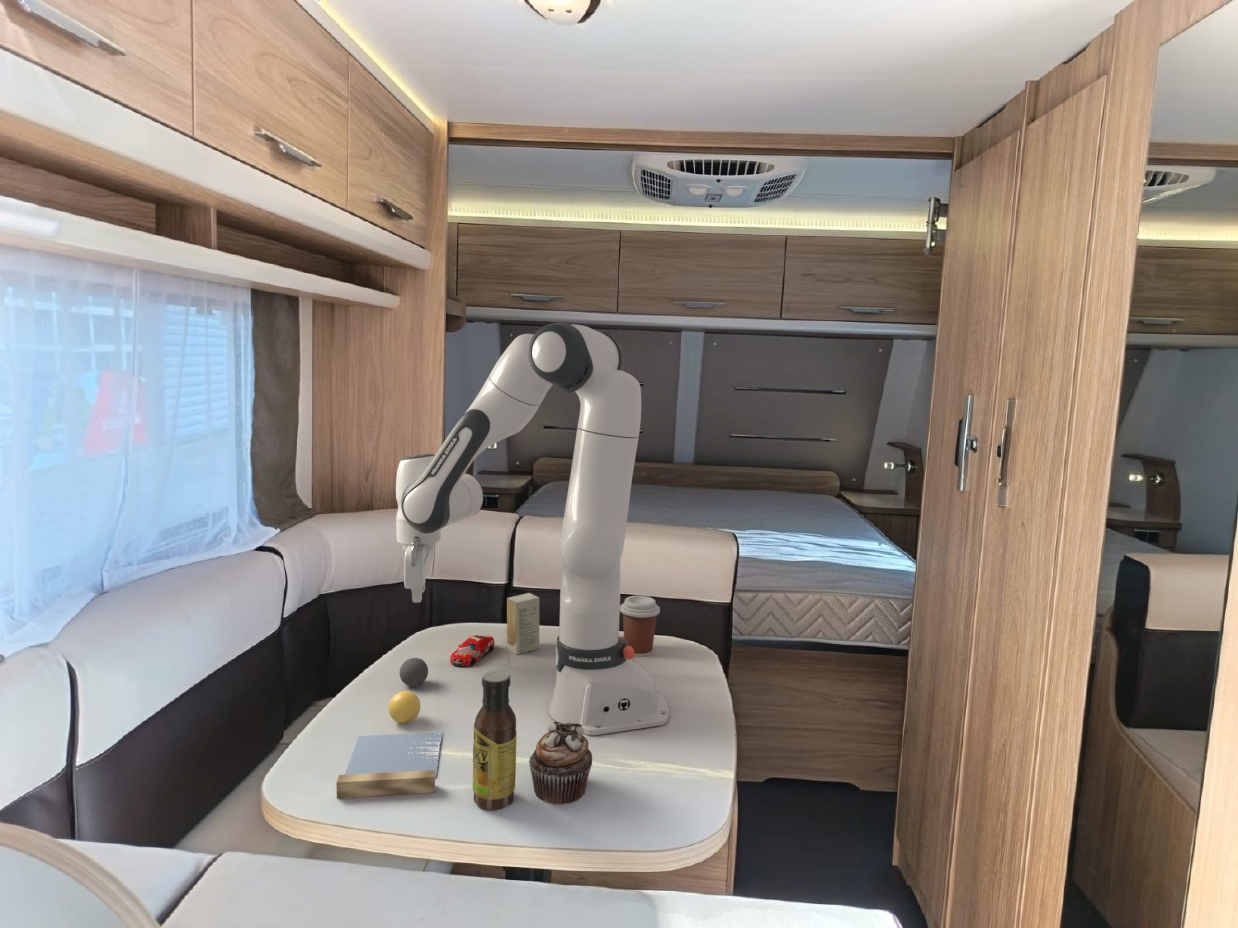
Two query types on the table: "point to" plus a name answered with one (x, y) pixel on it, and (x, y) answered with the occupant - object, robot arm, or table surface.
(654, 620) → the coffee cup
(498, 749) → the sauce bottle
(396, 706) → the ochre ball
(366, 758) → the board
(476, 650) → the race car
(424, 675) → the grey sphere
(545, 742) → the cupcake
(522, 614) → the skincare box
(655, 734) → the table surface
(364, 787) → the rail
